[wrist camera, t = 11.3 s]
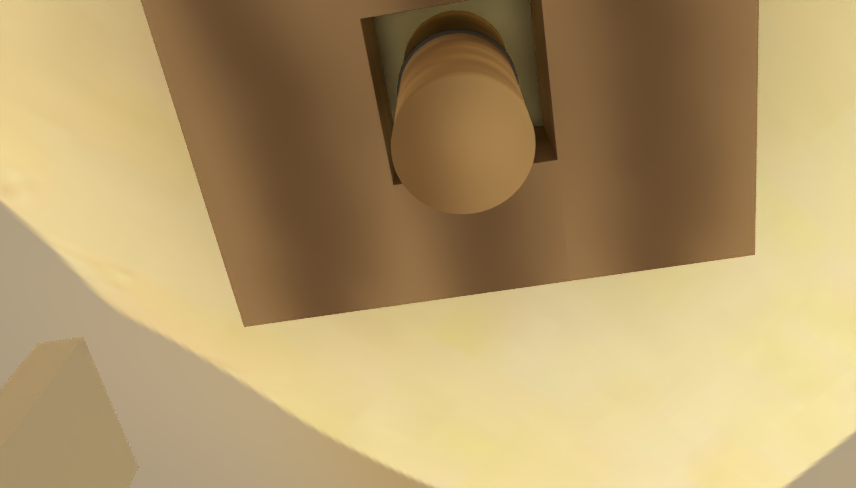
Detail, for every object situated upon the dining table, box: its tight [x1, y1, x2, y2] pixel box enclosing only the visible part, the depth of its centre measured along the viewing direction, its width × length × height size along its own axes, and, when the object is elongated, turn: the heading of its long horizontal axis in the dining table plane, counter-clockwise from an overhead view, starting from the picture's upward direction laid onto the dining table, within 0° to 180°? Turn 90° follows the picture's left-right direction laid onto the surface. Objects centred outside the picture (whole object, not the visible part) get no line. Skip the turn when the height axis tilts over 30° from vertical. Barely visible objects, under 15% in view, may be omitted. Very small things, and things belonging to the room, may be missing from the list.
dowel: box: [391, 11, 536, 214], centre depth 26 cm, size 4×4×10 cm
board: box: [141, 0, 759, 327], centre depth 29 cm, size 20×16×4 cm
